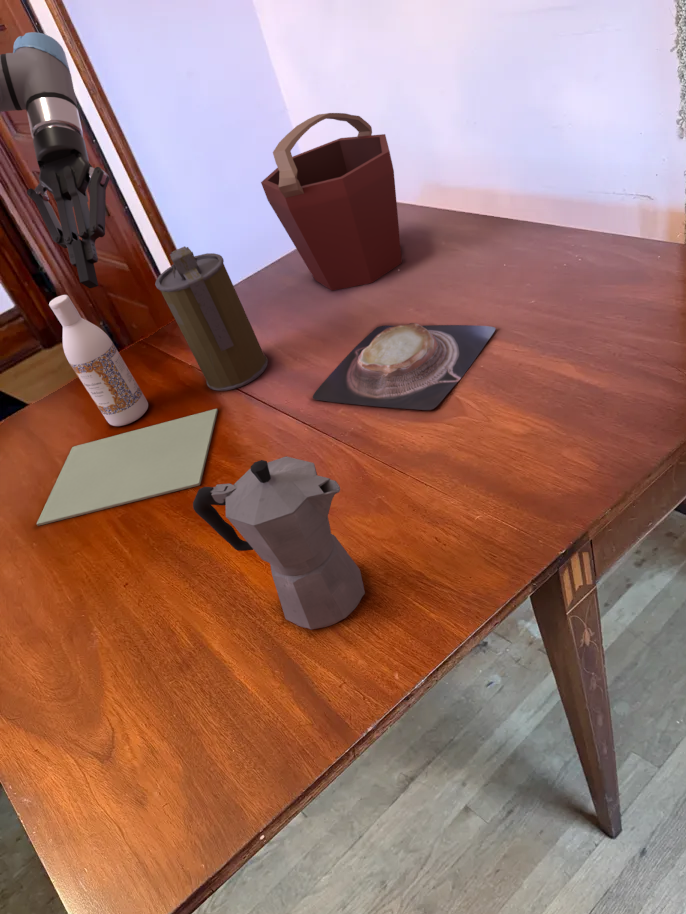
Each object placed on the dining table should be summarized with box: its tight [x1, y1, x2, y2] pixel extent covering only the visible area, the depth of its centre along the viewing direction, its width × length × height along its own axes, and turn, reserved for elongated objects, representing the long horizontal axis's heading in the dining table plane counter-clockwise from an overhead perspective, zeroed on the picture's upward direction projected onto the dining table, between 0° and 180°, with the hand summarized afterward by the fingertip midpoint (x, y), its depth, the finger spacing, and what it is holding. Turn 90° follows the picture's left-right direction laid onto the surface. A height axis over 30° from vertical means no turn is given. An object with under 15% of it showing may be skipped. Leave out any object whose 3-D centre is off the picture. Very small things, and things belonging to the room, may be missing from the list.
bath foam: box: [48, 294, 149, 427], centre depth 112 cm, size 7×7×20 cm
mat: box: [36, 408, 219, 527], centre depth 107 cm, size 24×18×1 cm
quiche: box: [312, 322, 496, 411], centre depth 106 cm, size 21×20×4 cm
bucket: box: [260, 112, 403, 291], centre depth 129 cm, size 24×22×25 cm
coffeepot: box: [192, 455, 366, 630], centre depth 72 cm, size 15×9×18 cm, turn 78°
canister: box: [154, 246, 269, 392], centre depth 113 cm, size 11×10×20 cm
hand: (89, 284), depth 115 cm, fingers closed
